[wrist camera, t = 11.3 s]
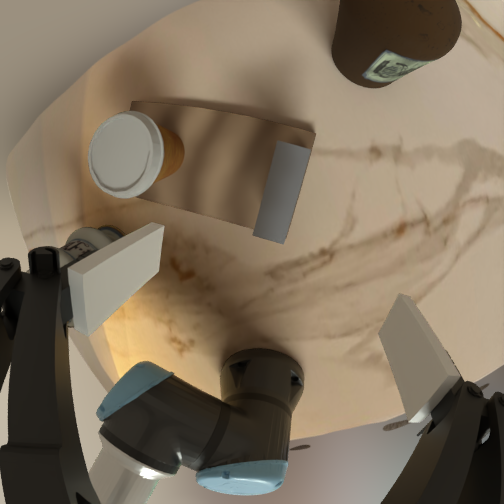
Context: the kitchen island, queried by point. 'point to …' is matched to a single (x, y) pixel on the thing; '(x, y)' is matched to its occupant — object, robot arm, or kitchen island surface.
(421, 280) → the kitchen island surface
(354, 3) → the olive oil
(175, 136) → the disposable coffee cup
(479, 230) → the kitchen island surface
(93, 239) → the apothecary jar
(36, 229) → the kitchen island surface
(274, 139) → the walnut board
